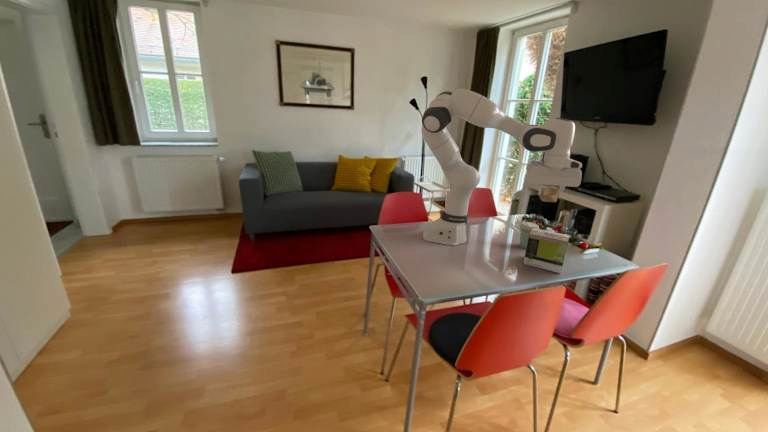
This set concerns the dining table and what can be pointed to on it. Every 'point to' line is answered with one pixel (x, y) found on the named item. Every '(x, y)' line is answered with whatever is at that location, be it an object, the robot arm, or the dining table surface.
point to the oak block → (549, 194)
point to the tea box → (546, 249)
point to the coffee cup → (526, 232)
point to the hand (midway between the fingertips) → (548, 195)
